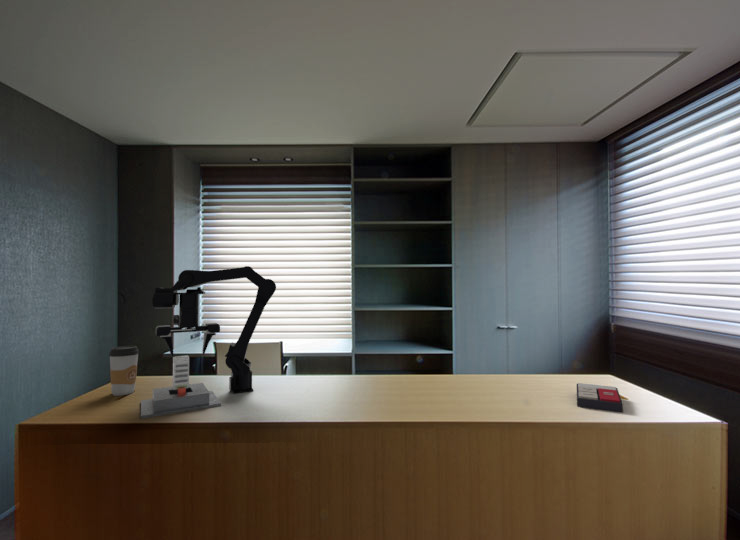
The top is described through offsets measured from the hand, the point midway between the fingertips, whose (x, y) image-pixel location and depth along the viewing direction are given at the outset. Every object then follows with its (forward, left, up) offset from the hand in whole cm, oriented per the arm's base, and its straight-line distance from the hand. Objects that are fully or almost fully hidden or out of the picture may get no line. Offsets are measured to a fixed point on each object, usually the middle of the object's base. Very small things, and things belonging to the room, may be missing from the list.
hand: (188, 355), depth 122 cm
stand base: (+3, +11, -12) cm, 17 cm away
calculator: (-103, +76, -13) cm, 129 cm away
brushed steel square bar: (+3, +11, -7) cm, 14 cm away
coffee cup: (+18, -13, -13) cm, 26 cm away
